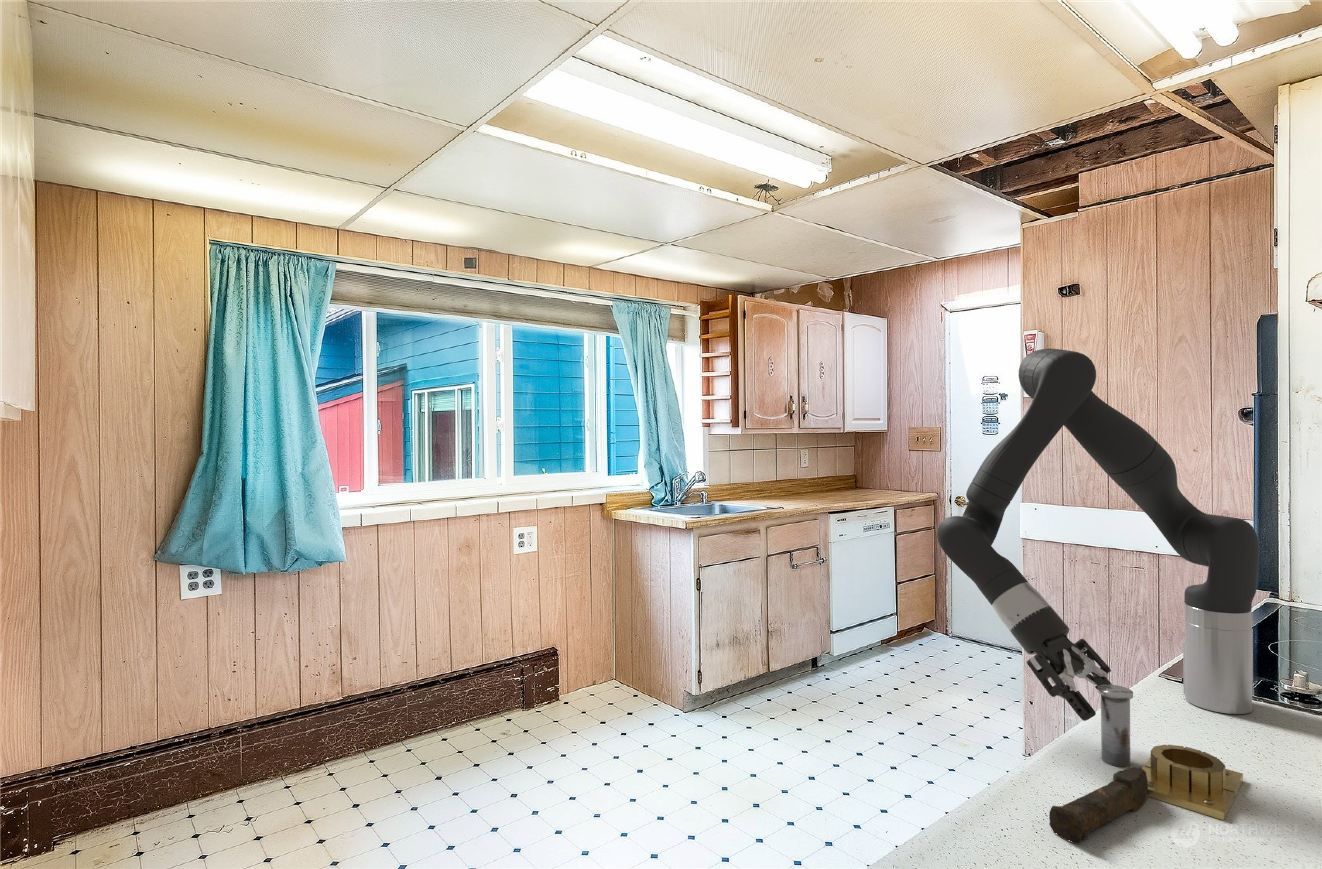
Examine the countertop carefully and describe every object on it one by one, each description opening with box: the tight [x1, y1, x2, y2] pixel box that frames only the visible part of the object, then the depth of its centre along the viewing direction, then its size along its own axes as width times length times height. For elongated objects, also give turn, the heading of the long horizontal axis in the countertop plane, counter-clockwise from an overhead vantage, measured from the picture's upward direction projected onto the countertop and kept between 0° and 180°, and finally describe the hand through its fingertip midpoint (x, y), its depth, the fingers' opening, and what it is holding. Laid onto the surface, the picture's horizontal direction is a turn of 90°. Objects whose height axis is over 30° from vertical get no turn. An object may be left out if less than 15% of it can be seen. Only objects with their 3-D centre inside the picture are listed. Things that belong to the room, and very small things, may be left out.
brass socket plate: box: [1141, 744, 1244, 821], centre depth 96 cm, size 14×10×4 cm
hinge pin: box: [1097, 683, 1134, 768], centre depth 103 cm, size 4×4×11 cm
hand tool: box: [1048, 766, 1148, 844], centre depth 88 cm, size 19×4×5 cm, turn 117°
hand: (1105, 711), depth 104 cm, fingers open, 8 cm apart
